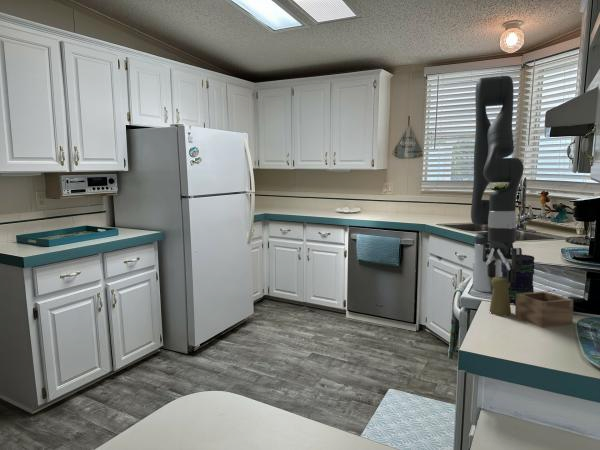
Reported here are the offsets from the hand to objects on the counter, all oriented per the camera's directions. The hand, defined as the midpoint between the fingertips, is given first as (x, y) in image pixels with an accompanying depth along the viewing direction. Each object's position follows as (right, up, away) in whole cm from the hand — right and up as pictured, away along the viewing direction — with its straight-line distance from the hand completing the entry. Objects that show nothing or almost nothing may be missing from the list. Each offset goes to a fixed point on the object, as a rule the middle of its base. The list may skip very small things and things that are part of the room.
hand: (500, 279), depth 125 cm
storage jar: (+12, -9, +14) cm, 20 cm away
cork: (0, -10, +1) cm, 11 cm away
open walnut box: (+9, -11, -6) cm, 15 cm away
